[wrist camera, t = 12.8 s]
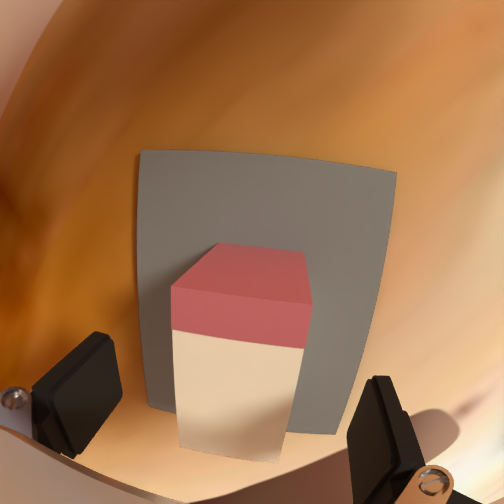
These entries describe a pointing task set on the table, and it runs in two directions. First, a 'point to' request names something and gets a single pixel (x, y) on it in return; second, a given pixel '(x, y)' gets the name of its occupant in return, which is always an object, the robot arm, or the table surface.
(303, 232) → the mat
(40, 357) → the table surface
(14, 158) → the table surface
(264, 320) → the card box
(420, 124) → the table surface
